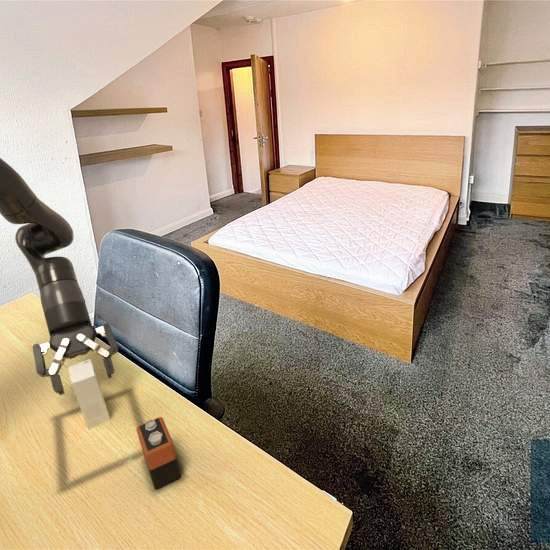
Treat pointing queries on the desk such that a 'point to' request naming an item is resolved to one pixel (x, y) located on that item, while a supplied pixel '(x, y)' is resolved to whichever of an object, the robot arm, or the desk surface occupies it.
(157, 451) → the battery
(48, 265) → the robot arm
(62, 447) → the desk surface
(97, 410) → the cosmetic box
